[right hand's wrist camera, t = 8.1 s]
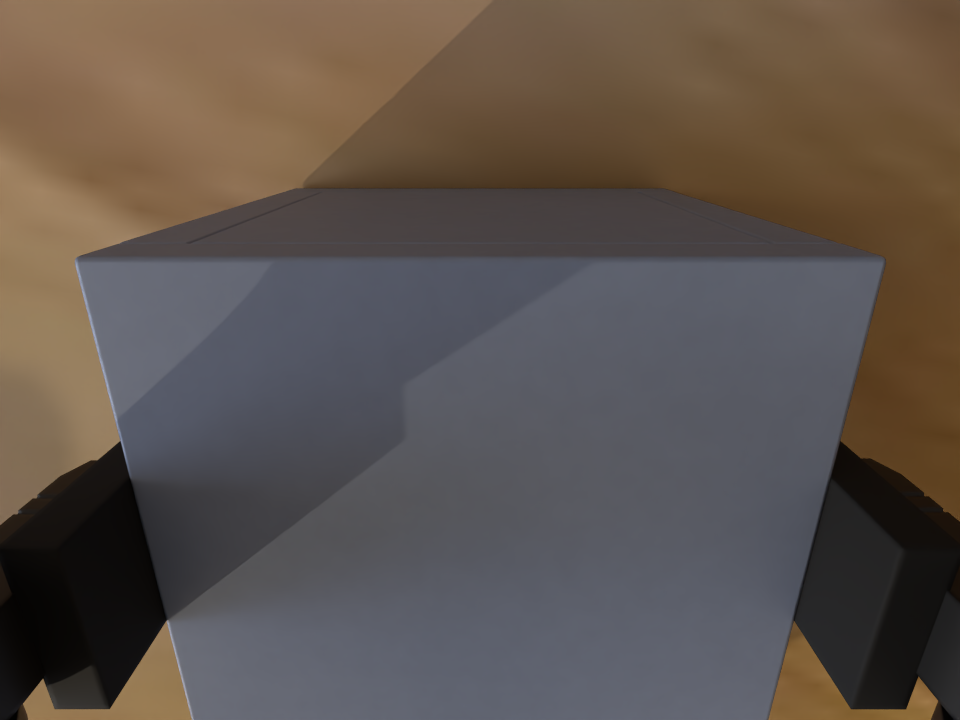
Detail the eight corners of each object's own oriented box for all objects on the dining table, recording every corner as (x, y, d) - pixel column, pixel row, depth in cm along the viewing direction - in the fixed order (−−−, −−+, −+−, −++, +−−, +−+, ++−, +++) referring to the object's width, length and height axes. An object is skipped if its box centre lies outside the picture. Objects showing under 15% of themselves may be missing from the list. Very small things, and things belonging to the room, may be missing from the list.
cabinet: (610, 672, 23) (694, 1013, 14) (348, 672, 23) (265, 1014, 14) (665, 188, 16) (891, 256, 7) (294, 188, 16) (69, 256, 7)
